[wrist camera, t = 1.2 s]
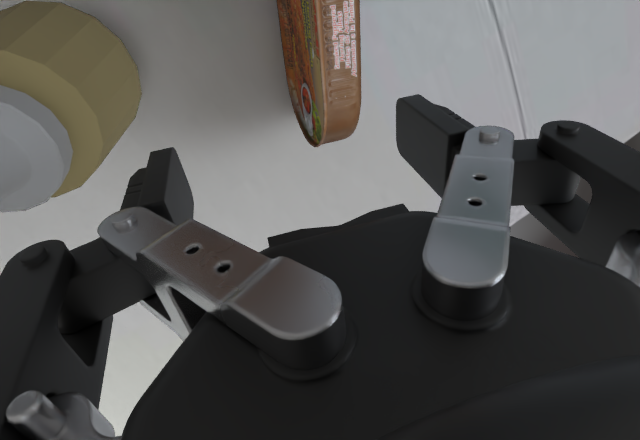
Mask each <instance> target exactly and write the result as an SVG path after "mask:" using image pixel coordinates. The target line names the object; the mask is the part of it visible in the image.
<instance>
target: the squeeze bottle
mask: <svg viewBox="0 0 640 440" xmlns="http://www.w3.org/2000/svg"><path fill="white" fill-rule="evenodd" d="M141 95H142V92H141V86H140V81H139V75H138V69H137V66H136V64H135V63H134V61H133V59H132V58H131V56H130V54H129V53H128V51H127V49H126V48H125V46H124V44H123V43H122V41H121V40H120V39H119V38H118V37H117V36H116V35H114V34H113V33H112V32H111V31H110V30H109V29H108V28H106V27H105V26H104V25H103V24H102V23H101V22H99V21H98V20H97V19H96V18H95V17H93V16H91V15H88V14H86V13H84V12H81V11H79V10H77V9H74V8H72V7H69V6H67V5H65V4H62V3H56V2H38V1H24V2H22V3H19V4H17V5H14V6H12V7H9V8H7V9H5V10H2V11H0V212H11V211H26V210H28V209H30V208H33V207H35V206H37V205H40V204H42V203H45V202H47V201H48V200H49V199H50V197H57V196H59V195H62V194H64V193H67V192H69V191H71V190H74V189H76V188H78V187H81V186H82V185H83V184H84V183H85V181H86V180H87V179H88V178H89V177H90V176H91V175H92V174H93V173H94V172H95V171H96V169H97V168H98V167H99V166H100V164H101V163H102V162H103V160H104V159H105V158H106V156H107V155H108V154H109V152H110V151H111V149H112V148H113V147H114V145H115V144H116V143H117V141H118V140H119V139H120V137H121V136H122V135H123V133H124V132H125V131H126V129H127V128H128V127H129V125H130V124H131V123H132V121H133V120H134V118H135V117H136V114H137V110H138V106H139V102H140V99H141Z"/></svg>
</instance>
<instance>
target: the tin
mask: <svg viewBox="0 0 640 440" xmlns="http://www.w3.org/2000/svg"><path fill="white" fill-rule="evenodd" d="M277 6H278V14H279V22H280V30H281V38H282V46H283V54H284V61H285V69H286V76H287V82H288V87H289V92H290V96H291V101H292V105H293V108H294V112H295V114H296V118H297V120H298V123H299V125H300V128H301V130H302V132H303V134H304V136H305V138H306V139H307V141H308V142H309V143H310V145H312V146H314V147H318V146H320V145H322V144H325V143H330V142H334V141H338V140H342V139H345V138H347V137H349V136H350V135H351V134H352V133H353V132H354V130H355V129H356V126H357V123H358V120H359V115H360V107H361V48H360V1H359V0H277Z"/></svg>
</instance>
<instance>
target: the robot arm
mask: <svg viewBox="0 0 640 440" xmlns="http://www.w3.org/2000/svg"><path fill="white" fill-rule="evenodd" d="M396 141H397V147H398V150H399V153H400V154H401V156H402V157H403V158H404V159H405V160H406V161H407V162H408V163H409V164H410V165H411V166H412V167H413V168H414V170H415V171H416V172H417V173H418V174H419V175H420V176H421V177H422V178H423V179H424V180H425V181H426V182H427V183H428V184H429V185H430V186H431V187H432V189H433V190H434V191H435V192H436V193H437V194H438V195H439V196H440V197H441V198H442V200H441V203H440V207H439V210H438V213H434V212H425V211H410V212H409V211H408V209H407V208H406V207H405V205H404V204H399V205H395V206H391V207H387V208H383V209H379V210H375V211H371V212H369V213H367V214H364V215H362V216H360V217H358V218H356V219H353V220H351V221H349V222H347V223H344V224H342V225H339V226H331V227H319V228H308V229H300V230H296V231H292V232H288V233H284V234H280V235H276V236H272V237H268V243H269V248H267V249H265V250H263V251H261V252H257V251H255V250H253V249H251V248H249V247H247V246H245V245H243V244H241V243H239V242H237V241H235V240H233V239H231V238H229V237H227V236H225V235H223V234H221V233H219V232H217V231H215V230H213V229H211V228H209V227H207V226H205V225H203V224H201V223H199V222H197V221H195V220H193V210H194V201H193V196H192V192H191V189H190V186H189V183H188V181H187V178H186V175H185V173H184V170H183V168H182V165H181V162H180V160H179V157H178V155H177V152H176V150H175V149H174V148H173V147H171V148H167V149H162V150H158V151H153V152H151V153H150V156H149V160H148V164H147V168H142V169H139V170H138V171H137V172H136V173H135V174H134V175H133V176H132V177H131V178H130V180H129V184H128V188H127V190H126V193H125V194H126V195H125V196H124V199H123V203H122V206H121V209H120V211H118V212H116V213H114V214H112V215H110V216H109V217H107V218H106V219H105V220H104V221H102V223H101V224H100V225H99V227H98V234H99V236H100V237H99V238H98V239H96V240H94V241H92V242H89V243H87V244H85V245H82V246H80V247H77V248H75V249H73V250H70V251H69V250H68V248H67V247H66V245H65V244H64V243H63V242H62V241H60V240H47V241H43V242H39V243H36V244H34V245H32V246H29V247H27V248H25V249H24V250H22V251H20V252H19V253H17V254H16V255H15V256H14V257H13V258H11V259H10V261H9V262H8V263H7V264H6V266H5V268H4V270H3V272H2V273H1V275H0V440H640V152H639V151H636V150H635V149H633V148H631V147H629V146H627V145H625V144H623V143H621V142H619V141H617V140H615V139H614V138H612V137H610V136H608V135H606V134H604V133H602V132H600V131H598V130H596V129H594V128H592V127H590V126H588V125H586V124H583V123H580V122H575V121H552V122H548V123H546V124H544V125H543V126H542V127H541V131H540V135H539V139H526V140H514V134H513V133H512V132H511V131H510V130H508V129H505V128H502V127H497V126H479V127H475V126H474V125H472V124H471V123H469V122H467V121H466V120H464V119H463V118H462V119H461V117H460V116H458V115H457V114H455V113H454V112H452V111H451V110H449V109H448V108H446V107H443V106H439V105H436V104H433V103H431V102H430V101H428V100H427V99H425V98H424V97H422V96H421V95H419V94H417V95H413V96H408V97H403V98H399V99H398V100H397V104H396ZM581 177H582V178H583V179H585V180H586V181H587V182H588V183H589V184H590V186H591V188H592V194H593V195H592V199H591V202H590V204H589V203H587V202H586V201H585V200H583V199H582V198H581V197H579V196H578V195H577V194H575V193H576V190H577V187H578V184H579V181H580V178H581ZM517 205H524V207H525V208H526V209H527V210H528V211H529V212H530V213H531V214H532V215H533V216H534V217H535V218H537V220H539V221H540V222H541V223H542V224H543V225H544V226H545V227H546V228H547V229H549V230H550V231H551V232H552V233H553V234H554V235H555V236H556V237H557V238H558V239H559V240H561V241H562V242H563V243H564V244H565V245H566V246H567V247H568V248H569V249H570V250H572V251H573V252H574V253H575V254H576V255H577V256H578V257H579V258H577V257H574V256H571V255H568V254H565V253H562V252H559V251H556V250H552V249H549V248H546V247H543V246H540V245H537V244H534V243H531V242H528V241H525V240H521V239H518V238H515V237H512V236H510V227H509V221H510V209H511V206H517ZM137 302H140V304H141V305H142V306H143V307H145V308H146V309H147V310H148V311H149V312H151V313H152V314H153V315H154V316H156V317H157V318H158V319H159V320H160V321H162V322H163V323H164V324H165V325H167V326H168V327H169V328H170V329H171V330H173V331H174V332H175V333H176V334H177V335H178V336H179V337H180V338H181V339H182V341H183V343H182V344H181V346H180V347H179V348H178V349H177V351H176V352H175V353H174V355H173V356H172V357H171V359H170V360H169V361H168V363H167V364H166V365H165V367H164V368H163V369H162V371H161V372H160V373H159V374H158V376H157V377H156V378H155V380H154V381H153V382H152V384H151V385H150V386H149V388H148V389H147V390H146V392H145V393H144V394H143V396H142V397H141V398H140V400H139V401H138V403H137V404H136V406H135V407H134V409H133V411H132V413H131V415H130V416H129V418H128V420H127V423H126V425H125V428H124V430H123V433H122V436H117V437H115V431H114V428H113V426H112V424H111V423H110V422H109V421H108V420H107V419H106V418H105V417H104V416H103V415H102V414H101V413H100V411H99V410H98V408H99V402H100V396H101V390H102V383H103V377H104V371H105V365H106V359H107V353H108V346H109V340H110V334H111V328H112V322H113V314H115V313H117V312H119V311H121V310H123V309H125V308H127V307H129V306H131V305H133V304H135V303H137Z"/></svg>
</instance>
